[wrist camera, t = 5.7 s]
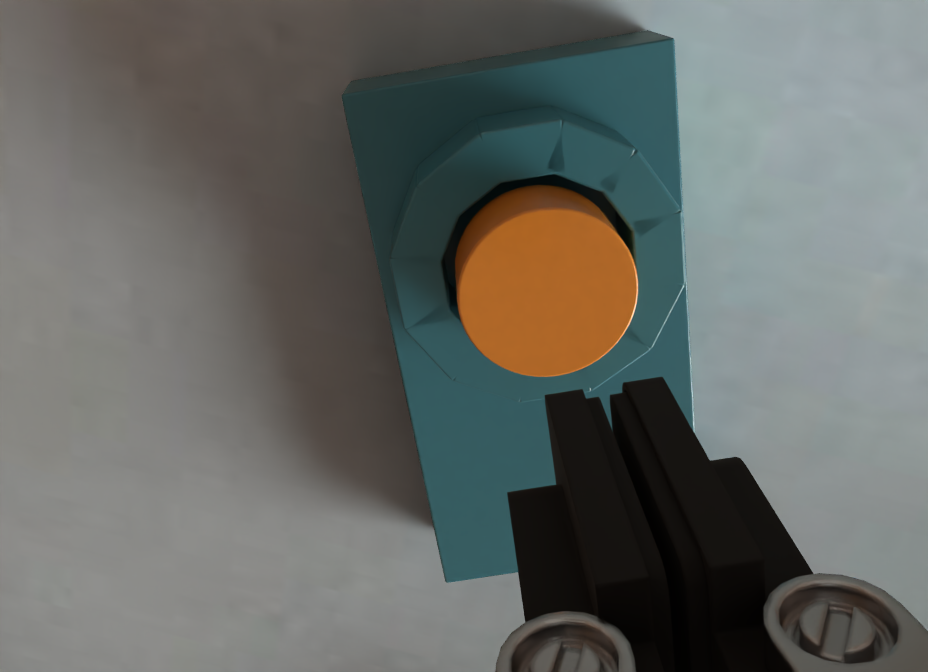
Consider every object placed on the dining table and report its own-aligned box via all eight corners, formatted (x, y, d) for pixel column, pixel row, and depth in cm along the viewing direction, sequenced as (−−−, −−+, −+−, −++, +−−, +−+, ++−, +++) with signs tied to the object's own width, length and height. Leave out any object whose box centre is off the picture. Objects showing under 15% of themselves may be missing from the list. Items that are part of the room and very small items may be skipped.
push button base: (349, 80, 22) (331, 108, 18) (649, 29, 22) (699, 45, 18) (444, 533, 28) (446, 630, 24) (679, 497, 28) (721, 589, 24)
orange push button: (442, 199, 19) (442, 224, 18) (612, 171, 19) (632, 193, 17) (468, 352, 21) (472, 390, 19) (625, 327, 21) (645, 363, 19)
